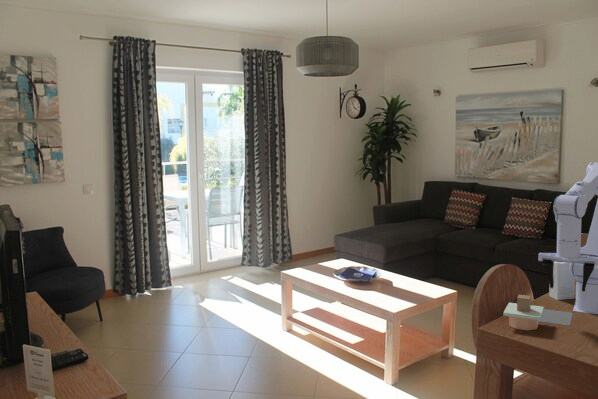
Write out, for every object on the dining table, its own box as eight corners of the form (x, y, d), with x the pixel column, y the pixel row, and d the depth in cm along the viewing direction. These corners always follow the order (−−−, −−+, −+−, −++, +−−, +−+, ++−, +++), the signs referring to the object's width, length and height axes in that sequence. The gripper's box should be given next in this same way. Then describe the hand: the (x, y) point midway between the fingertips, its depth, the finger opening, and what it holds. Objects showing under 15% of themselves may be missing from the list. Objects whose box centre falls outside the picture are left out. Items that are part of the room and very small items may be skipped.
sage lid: (508, 305, 148) (509, 290, 147) (543, 309, 143) (544, 294, 143) (503, 315, 140) (503, 299, 140) (539, 320, 136) (540, 304, 135)
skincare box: (565, 295, 166) (566, 258, 165) (575, 300, 162) (576, 261, 160) (548, 297, 165) (548, 260, 164) (557, 301, 161) (558, 263, 159)
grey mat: (531, 309, 156) (531, 307, 155) (572, 314, 150) (572, 312, 150) (525, 321, 146) (525, 319, 146) (570, 327, 141) (570, 325, 140)
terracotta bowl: (511, 320, 147) (512, 306, 147) (539, 324, 144) (539, 310, 143) (507, 329, 141) (507, 314, 141) (535, 333, 138) (536, 318, 137)
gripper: (537, 240, 140) (536, 289, 142) (599, 244, 133) (597, 296, 135) (540, 235, 146) (539, 282, 148) (600, 239, 139) (598, 288, 141)
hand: (567, 288), depth 142 cm, fingers open, 7 cm apart
